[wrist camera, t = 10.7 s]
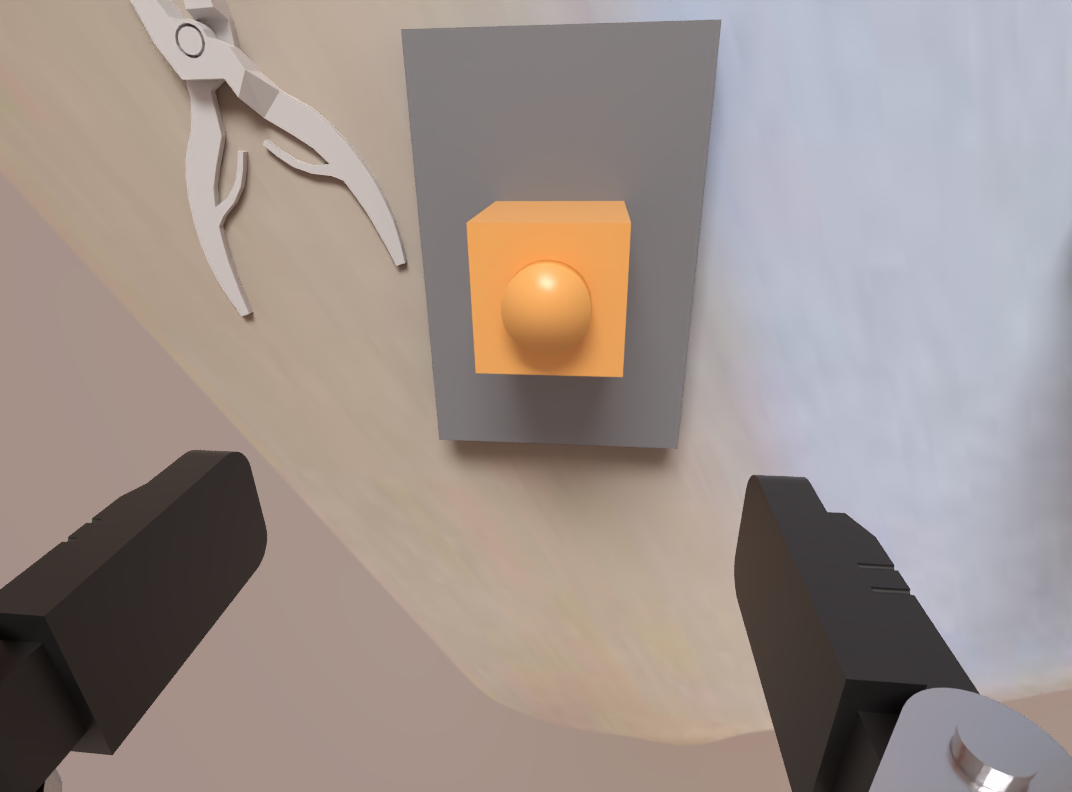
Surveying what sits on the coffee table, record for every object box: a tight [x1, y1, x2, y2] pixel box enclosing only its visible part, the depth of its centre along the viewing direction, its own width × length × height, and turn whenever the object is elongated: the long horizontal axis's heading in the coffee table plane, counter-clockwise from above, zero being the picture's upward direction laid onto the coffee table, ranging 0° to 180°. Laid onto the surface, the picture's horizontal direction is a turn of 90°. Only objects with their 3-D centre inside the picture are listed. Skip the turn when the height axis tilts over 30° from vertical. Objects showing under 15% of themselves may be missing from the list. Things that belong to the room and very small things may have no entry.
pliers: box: [130, 0, 407, 316], centre depth 26 cm, size 10×2×15 cm
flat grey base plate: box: [401, 20, 721, 449], centre depth 24 cm, size 12×18×7 cm, turn 0°
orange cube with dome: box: [467, 201, 631, 377], centre depth 22 cm, size 5×5×7 cm
